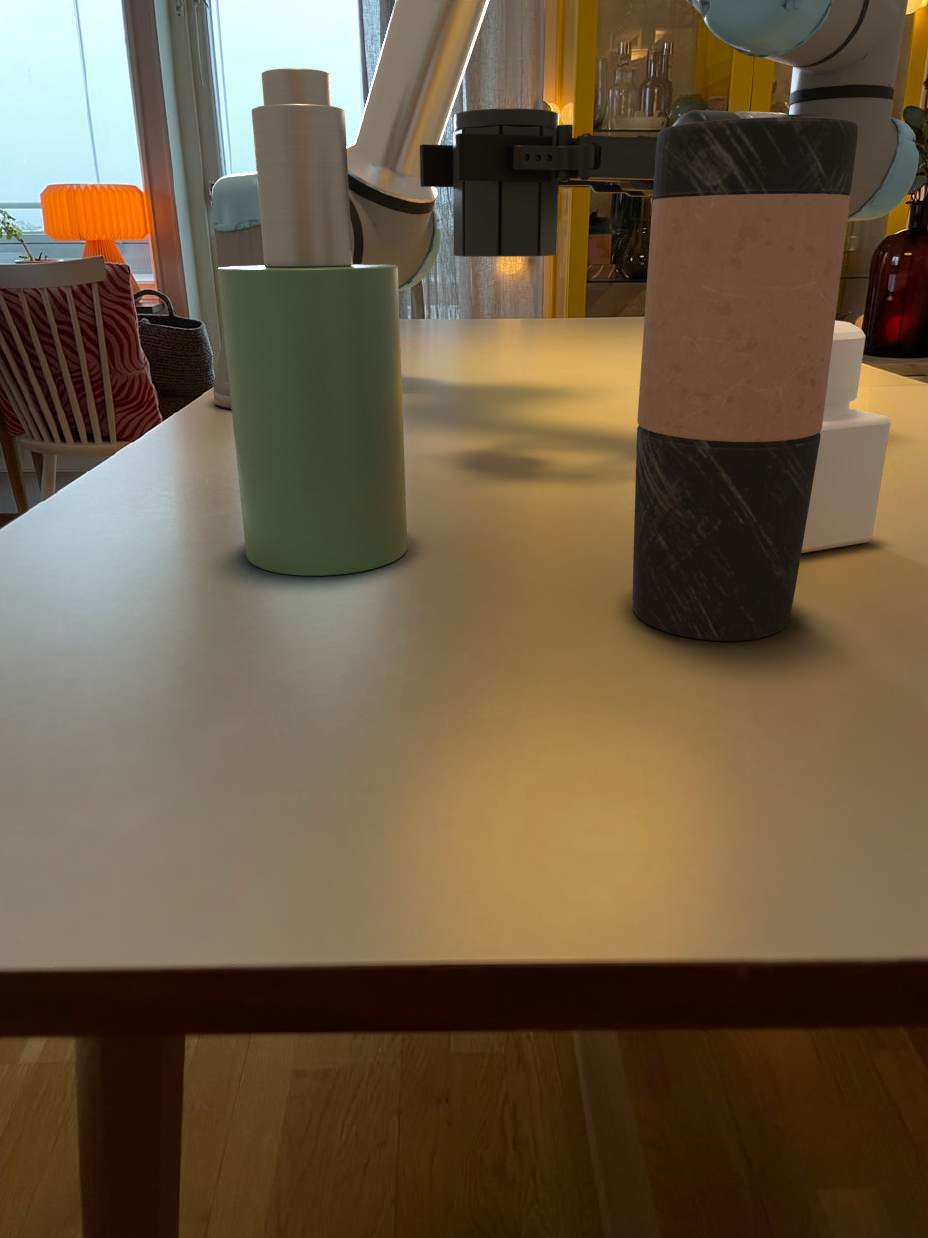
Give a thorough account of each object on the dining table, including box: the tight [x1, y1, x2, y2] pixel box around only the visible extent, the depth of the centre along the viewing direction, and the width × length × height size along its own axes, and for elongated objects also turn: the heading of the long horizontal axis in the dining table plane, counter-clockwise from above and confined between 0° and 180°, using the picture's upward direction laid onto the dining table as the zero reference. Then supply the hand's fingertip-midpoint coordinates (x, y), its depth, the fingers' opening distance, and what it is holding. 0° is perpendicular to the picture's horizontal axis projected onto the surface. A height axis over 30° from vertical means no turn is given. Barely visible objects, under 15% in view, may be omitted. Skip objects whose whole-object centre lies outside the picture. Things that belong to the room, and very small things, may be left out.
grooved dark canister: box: [452, 107, 560, 258], centre depth 66 cm, size 7×7×9 cm
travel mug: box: [632, 117, 858, 642], centre depth 40 cm, size 8×8×20 cm
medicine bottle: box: [801, 319, 892, 554], centre depth 52 cm, size 7×7×12 cm
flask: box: [217, 67, 408, 577], centre depth 48 cm, size 9×9×24 cm
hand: (439, 161), depth 64 cm, fingers closed on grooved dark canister, 7 cm apart
